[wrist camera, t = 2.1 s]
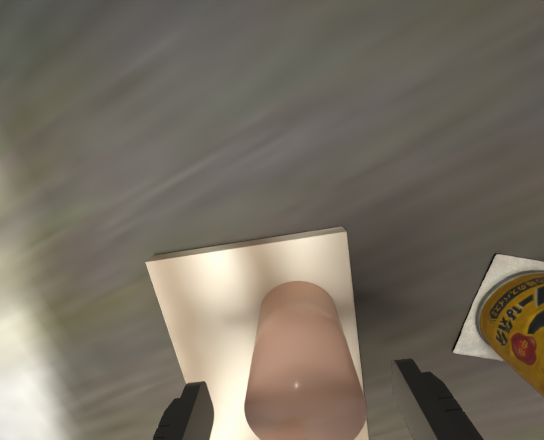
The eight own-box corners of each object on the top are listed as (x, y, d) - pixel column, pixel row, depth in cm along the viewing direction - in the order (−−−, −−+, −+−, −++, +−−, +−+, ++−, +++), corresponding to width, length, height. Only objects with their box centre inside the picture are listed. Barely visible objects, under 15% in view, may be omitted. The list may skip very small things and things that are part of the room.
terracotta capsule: (331, 275, 15) (360, 356, 9) (341, 343, 16) (372, 451, 10) (252, 286, 15) (232, 370, 10) (267, 351, 17) (257, 459, 11)
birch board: (342, 226, 15) (346, 231, 14) (376, 539, 23) (381, 557, 22) (153, 255, 16) (145, 262, 15) (247, 545, 24) (245, 562, 23)
